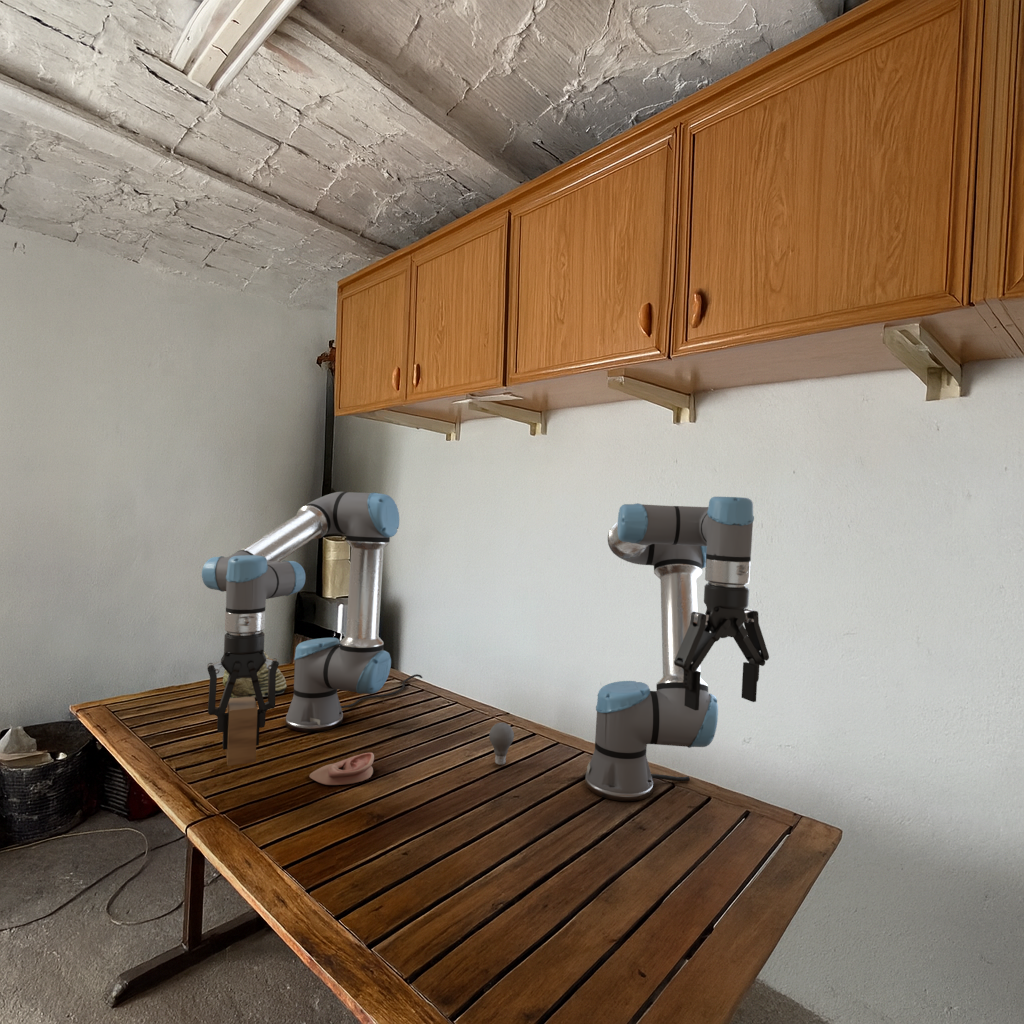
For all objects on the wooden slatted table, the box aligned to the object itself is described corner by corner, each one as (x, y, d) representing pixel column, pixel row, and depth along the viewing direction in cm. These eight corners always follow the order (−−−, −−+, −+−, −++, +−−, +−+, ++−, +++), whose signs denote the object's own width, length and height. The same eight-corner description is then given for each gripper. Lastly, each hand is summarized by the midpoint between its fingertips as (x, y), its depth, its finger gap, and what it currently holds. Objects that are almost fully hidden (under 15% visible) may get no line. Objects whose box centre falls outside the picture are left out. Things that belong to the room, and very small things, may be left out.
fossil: (218, 695, 195) (220, 647, 195) (278, 685, 208) (279, 640, 207) (228, 703, 189) (230, 653, 188) (289, 692, 201) (290, 645, 201)
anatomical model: (302, 763, 140) (328, 744, 151) (302, 781, 140) (327, 761, 151) (358, 771, 137) (380, 751, 148) (358, 789, 137) (379, 768, 148)
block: (225, 751, 132) (227, 698, 131) (252, 747, 134) (254, 696, 134) (227, 766, 125) (229, 710, 124) (255, 762, 127) (257, 707, 127)
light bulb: (487, 758, 157) (489, 718, 156) (511, 759, 157) (513, 719, 157) (488, 769, 151) (490, 727, 150) (513, 769, 151) (515, 727, 151)
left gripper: (194, 638, 121) (190, 758, 122) (294, 633, 130) (290, 745, 130) (194, 630, 128) (190, 744, 129) (289, 625, 136) (285, 733, 137)
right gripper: (687, 588, 103) (681, 718, 103) (793, 585, 114) (787, 702, 114) (657, 582, 109) (651, 704, 110) (760, 580, 121) (754, 690, 121)
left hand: (240, 744), depth 129 cm, fingers closed on block, 5 cm apart
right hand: (720, 703), depth 112 cm, fingers open, 13 cm apart
